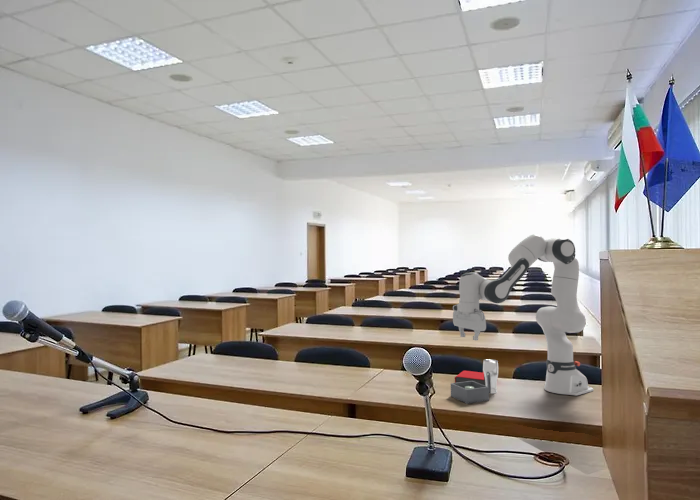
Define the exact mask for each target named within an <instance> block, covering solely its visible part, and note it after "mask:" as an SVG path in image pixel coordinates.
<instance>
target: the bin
mask: <svg viewBox="0 0 700 500" xmlns="http://www.w3.org/2000/svg"><path fill="white" fill-rule="evenodd" d="M465 386H472V387H474V389H465ZM450 397H452V398H453V399H456V400H458V401H460V402H461V403H464V404H466V405H467V404H475V403H481V402H487V401H488V402H489V400H490V393H489V387H487V386H485V385H482V384H479V383H477V382H474V381H466V382H458V383H455V382H451V383H450Z"/></svg>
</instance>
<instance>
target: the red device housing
mask: <svg viewBox="0 0 700 500" xmlns="http://www.w3.org/2000/svg"><path fill="white" fill-rule="evenodd" d="M466 381H474V382H477V383H479V384H482V385H485V381H484V375H483V371H482V372H481V371H479V372H478V371H471V370H462V371H461V372H459V374H457V375H455V376H454V383H458V382H466Z"/></svg>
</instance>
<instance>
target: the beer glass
mask: <svg viewBox="0 0 700 500" xmlns="http://www.w3.org/2000/svg"><path fill="white" fill-rule="evenodd" d="M498 362H499V361H498V360H496V359H490V358H489V359H483V363H482V373H483V375H484V381H485V386H487V387H489V394H497V393H498V388H497V383H498V378H499V363H498Z"/></svg>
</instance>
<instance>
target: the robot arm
mask: <svg viewBox="0 0 700 500" xmlns="http://www.w3.org/2000/svg"><path fill="white" fill-rule="evenodd" d="M507 256H508V257H507V258H508V259H507V260H508V262H509V264H510V268H509V269H508V270H507V271H506V272H505V273H504V274H503V276H501V277H499V279H494V280H493V279H488V278H487V277H486V278H485V277H483V276H482V275H480V274H479V273H478V272H475V271H473V272H472V271H471V272H469V271H468V272H465V273H463V274H461V276H460V278H459V285H458V290H459V291H458V293H459V300H458V301H459V303H457V304H455V305H453V306H452V311H453V313H452V323H453V325H454V327H455V326H456V327H458V331H459V333H460V334H459V336H460V337H461V338H466V333H465V329H467V330H472V331H473V332H474V335H473V336H472V341H478V340H479V336H480V333H481V332H485V331H486V330H487V321H486V316H485V313H484V311H483V310H482V309H480V301H481V300H483V301H487V302H491V303H494V304H502V303H504V302H505V301H506V300H507V299H508V298H509V295H510V293H511V291H512V289H513V288H514V286H515V285H516V284H517V283H518V282H519V281H520V280H521V279H522V277H524V275H525V274H526V273H527V271H528V270H529V268H530V267H531V266H532V265H533V264H534V263H535V262H536V261H537V260H538V261H540V262H545V263H548V262H549V263H553V268H554V270H553V276H552V282H551V290H550V292H551V293H550V294H551V296H552V297H554V299H555V302H556V306H552V305H551V306H550V305H549V306H542V307H540V308H538V310H537V311H536V313H535V320H536V323H537V324H538V325H539V326H540V327H541V330H542V331H543V334H544V337H545V340H546V348H547V359H546V375H545V383H544V387H543V389H544V390H545V391H547V392H550V393H553V394H558V395H570V396H580V395H584V394H587V393H591V392H594V388H593V387H591V386H589V383H588V379H587V377H586V376H585V375H584V374H583V373H582V372H581V371H580V370H578V369H577V367H580V366H581V362H580V361H577V360H575V361H574V346H573V343H572V341H571V340H570V339H568V337H567V333H569V334H571V333H575V334H576V333H580V332H582V331H583V330H585V329H584V328H585V327H586V324H587V323H586V322H587V319H586V316H585V315H584V313H583V312H582V311H581V309H580V307H579V304H578V299H577V297H578V295H577V294H578V286H579V278H580V275H579V274H580V269H579V268H580V264H579V261H578V259H577V258H576V247H575V244H574V242H573V241H572V240H571V239H569V238H566V237H560V238H559V237H554V238H550V239H544V237H542V236H541V235H539V234H535V233H534V234H530V235H529V236H527V237H525V238H524V239H522V240H521V241H520V242H518V244H516V245H515V246H514V247H513V248H512V249H511V251H510V252H509V254H508V255H507Z"/></svg>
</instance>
